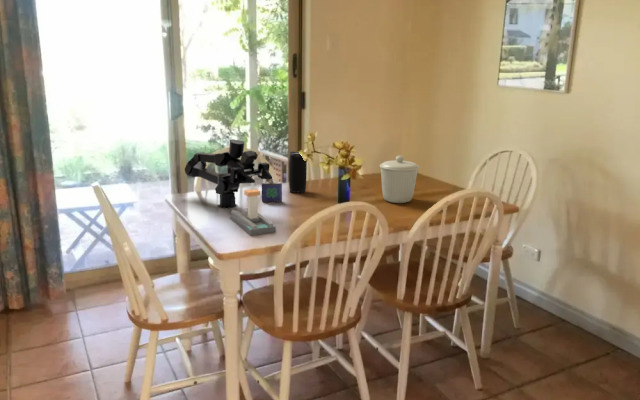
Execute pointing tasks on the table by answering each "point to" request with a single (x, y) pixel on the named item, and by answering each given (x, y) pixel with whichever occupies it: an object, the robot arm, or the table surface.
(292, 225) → the table surface
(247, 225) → the fader track
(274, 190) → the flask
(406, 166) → the canister
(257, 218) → the slider handle
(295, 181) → the portable speaker
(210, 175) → the robot arm
